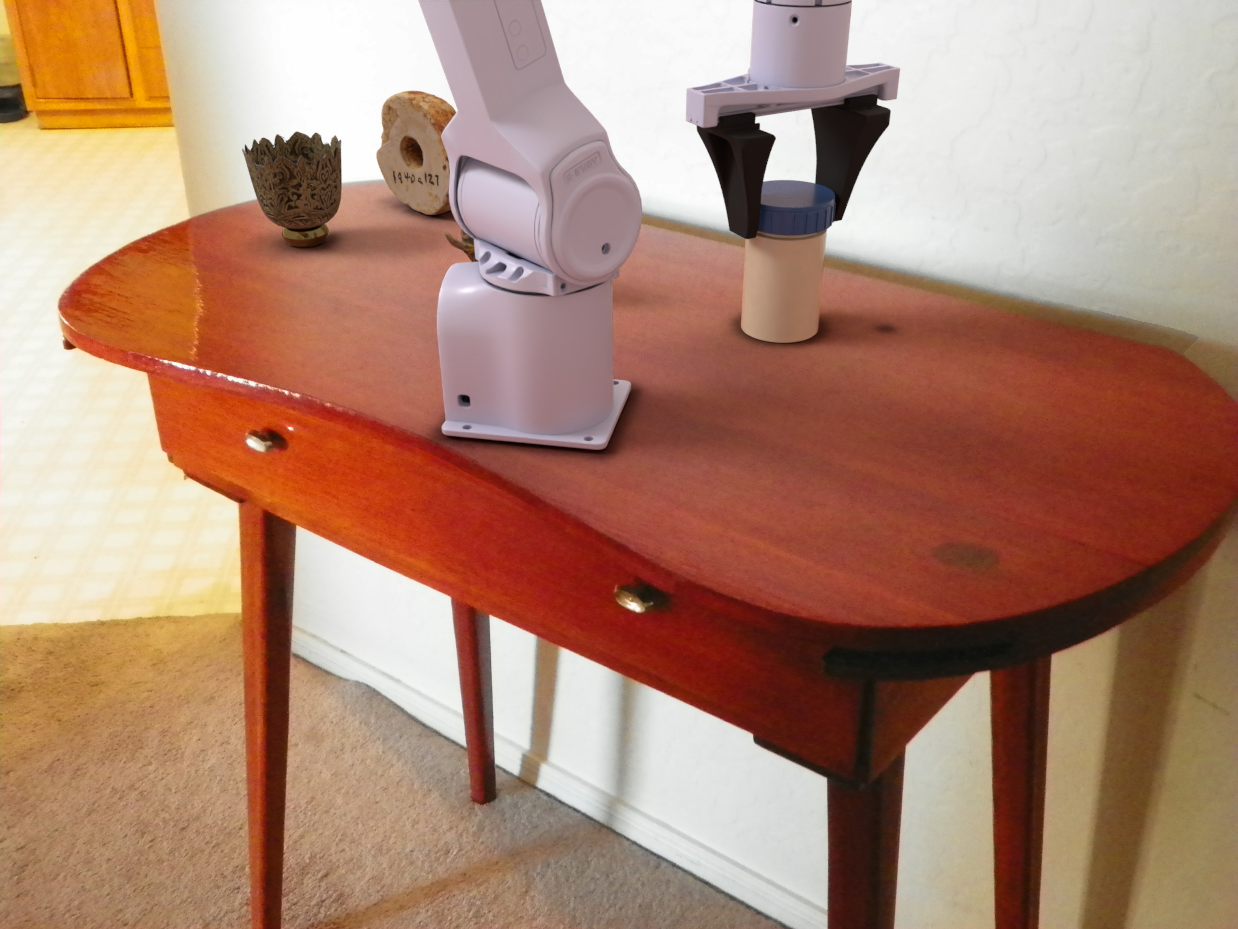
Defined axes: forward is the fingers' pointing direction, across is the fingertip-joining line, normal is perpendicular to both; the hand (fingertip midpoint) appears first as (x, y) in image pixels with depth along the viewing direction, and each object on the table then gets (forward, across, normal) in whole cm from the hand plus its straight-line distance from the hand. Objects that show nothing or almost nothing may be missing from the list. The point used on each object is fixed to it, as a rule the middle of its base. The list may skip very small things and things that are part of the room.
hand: (786, 225), depth 73 cm
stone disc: (+7, +11, -36) cm, 38 cm away
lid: (-2, 0, 0) cm, 2 cm away
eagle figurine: (+7, +12, -15) cm, 21 cm away
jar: (+7, 0, 0) cm, 7 cm away
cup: (+7, +23, -33) cm, 41 cm away
